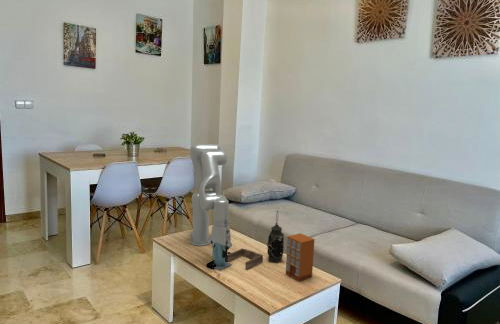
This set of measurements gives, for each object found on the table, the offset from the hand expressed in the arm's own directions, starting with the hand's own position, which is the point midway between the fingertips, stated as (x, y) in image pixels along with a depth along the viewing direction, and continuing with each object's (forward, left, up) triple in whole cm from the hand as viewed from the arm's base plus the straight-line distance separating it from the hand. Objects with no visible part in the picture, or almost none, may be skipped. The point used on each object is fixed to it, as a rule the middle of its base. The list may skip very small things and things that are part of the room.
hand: (219, 255), depth 201 cm
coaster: (0, 0, -6) cm, 6 cm away
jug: (0, -1, -5) cm, 5 cm away
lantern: (+17, +26, -6) cm, 32 cm away
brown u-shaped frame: (+7, +12, -6) cm, 15 cm away
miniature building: (+37, +18, -6) cm, 42 cm away
